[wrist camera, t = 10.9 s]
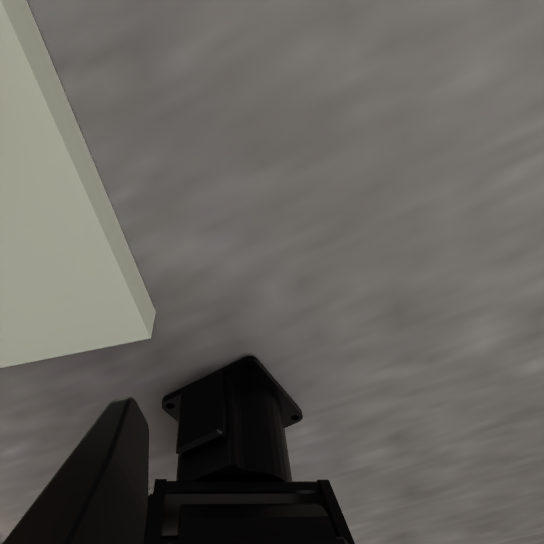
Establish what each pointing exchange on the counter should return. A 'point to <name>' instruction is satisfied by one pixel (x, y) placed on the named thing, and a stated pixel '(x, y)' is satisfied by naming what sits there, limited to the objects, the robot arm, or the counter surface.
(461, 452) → the counter surface
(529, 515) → the counter surface
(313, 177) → the counter surface
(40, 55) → the board
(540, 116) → the counter surface
